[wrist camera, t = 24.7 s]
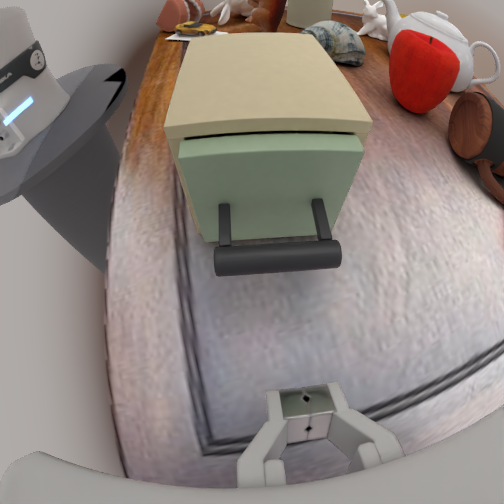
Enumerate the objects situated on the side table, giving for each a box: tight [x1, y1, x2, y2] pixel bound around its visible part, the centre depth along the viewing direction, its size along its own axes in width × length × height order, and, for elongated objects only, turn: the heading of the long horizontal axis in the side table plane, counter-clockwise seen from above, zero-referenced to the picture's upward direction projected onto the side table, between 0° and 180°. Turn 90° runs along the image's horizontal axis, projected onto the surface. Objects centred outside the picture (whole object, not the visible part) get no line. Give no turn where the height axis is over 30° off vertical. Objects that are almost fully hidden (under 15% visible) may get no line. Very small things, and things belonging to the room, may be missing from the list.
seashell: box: [299, 21, 366, 66], centre depth 30 cm, size 6×8×12 cm
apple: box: [389, 29, 460, 113], centre depth 23 cm, size 9×9×11 cm
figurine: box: [245, 0, 287, 33], centre depth 30 cm, size 6×8×15 cm
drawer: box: [178, 131, 365, 277], centre depth 16 cm, size 15×8×8 cm, turn 4°
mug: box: [448, 92, 504, 205], centre depth 20 cm, size 9×12×12 cm
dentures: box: [156, 0, 205, 32], centre depth 38 cm, size 9×7×8 cm
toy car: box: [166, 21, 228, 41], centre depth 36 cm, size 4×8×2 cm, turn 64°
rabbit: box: [210, 0, 254, 25], centre depth 40 cm, size 12×9×12 cm
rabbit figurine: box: [356, 0, 389, 41], centre depth 37 cm, size 12×8×10 cm, turn 94°
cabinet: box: [164, 33, 373, 234], centre depth 18 cm, size 13×10×10 cm
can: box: [286, 0, 333, 29], centre depth 36 cm, size 9×9×12 cm
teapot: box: [380, 0, 500, 92], centre depth 29 cm, size 19×18×14 cm
